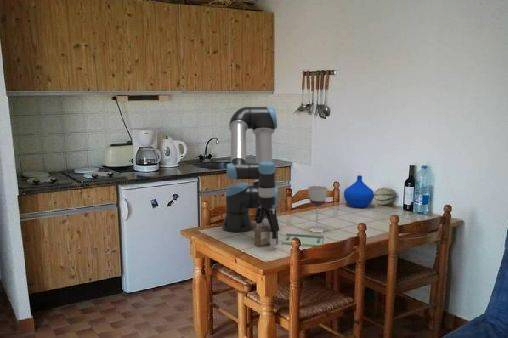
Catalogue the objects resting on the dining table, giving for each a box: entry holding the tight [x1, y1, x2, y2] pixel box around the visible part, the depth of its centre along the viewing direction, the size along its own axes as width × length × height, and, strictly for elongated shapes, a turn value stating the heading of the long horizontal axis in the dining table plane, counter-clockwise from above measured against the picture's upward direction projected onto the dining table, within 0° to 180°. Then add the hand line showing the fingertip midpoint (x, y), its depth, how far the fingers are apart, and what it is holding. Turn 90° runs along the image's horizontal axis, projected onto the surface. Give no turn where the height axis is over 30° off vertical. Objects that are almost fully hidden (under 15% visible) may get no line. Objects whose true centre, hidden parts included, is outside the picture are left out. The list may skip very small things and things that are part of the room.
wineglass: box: [307, 185, 328, 233], centre depth 232 cm, size 9×10×22 cm
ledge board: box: [281, 232, 325, 247], centre depth 215 cm, size 18×12×2 cm, turn 76°
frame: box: [254, 225, 279, 248], centre depth 211 cm, size 10×4×8 cm, turn 116°
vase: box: [343, 174, 375, 209], centre depth 283 cm, size 18×18×19 cm
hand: (266, 241), depth 212 cm, fingers open, 13 cm apart
